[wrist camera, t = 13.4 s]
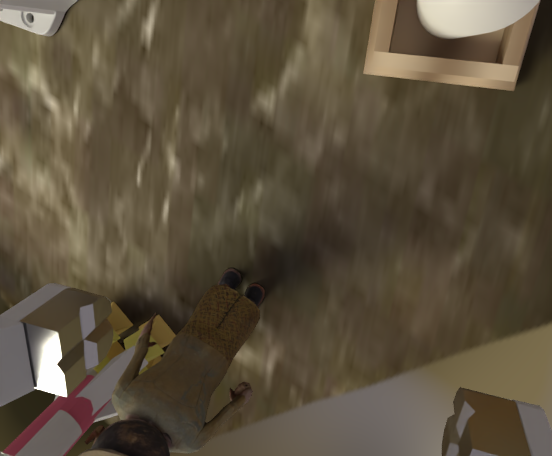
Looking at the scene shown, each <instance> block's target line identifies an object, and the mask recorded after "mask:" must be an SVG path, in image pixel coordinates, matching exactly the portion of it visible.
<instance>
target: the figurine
mask: <svg viewBox="0 0 552 456" xmlns="http://www.w3.org/2000/svg"><path fill="white" fill-rule="evenodd" d="M240 282H241V275H240V273H239V272H238V271H237V270H235V269H231V268H230V269H227V270H226V271H225V272H224V273H223V275H222V277H221V279H220V280H219V282H218V284H217V285H214V286H212V287H211V288H210V289H209V290H207V292H206V293H205V294H204V296H203V297H202V298H201V300H200V301H199V303H198V305H197V307H196V309H195V310H194V312H193V314H192V316H191V317H190V319H189V321H188V322H187V323H186V325H185V326H184V327H183V328H182V329H181V330H180V331H179V333H178V334H177V335H176V337H174V338H173V340H172V341H171V343H170V344H169V346H168V348H167V350H166V351H165V353H164V355H163V357H162V359H161V361H160V362H158V363H157V364H155V365H154V366H152V367H151V368H149V369H148V370H146V371H144V372H143V373H141V374H140V375H139V371H140V368H141V366H142V363H143V360H144V358H145V356H146V354H147V352H148V348H149V347H152V346H154V345H156V344H157V343H156V342H149V341H150V335H151V333H150V332H151V330H152V329H153V328H152V324H153V322H154V321H153V320H154V318H155V317H156V313H155V314H154V315H153V316H152V317H151V319H150V320H149V322H148V323H147V324H146V325H145V326H144V328H143V330H142V331H141V333H140V336H139V338H138V340H137V342H136V345H135V351H134V355H133V357H132V359H131V361H130V363H129V364H128V366H127V368H126V369H125V371H124V372H123V374H122V376H121V377H120V379H119V380H118V382H117V383H116V386H115V389H114V391H113V393H112V403H113V406H114V408H115V410H116V412H117V414H118V415H119V417H120V419H121V421H118V422H116V423H113V424H111V425H110V426H108V427H107V428H104V427H103V425H100V426H98V427H97V428H96V429H95V430H94V431H93V432H92V433H91V435H90V436H89V437H88V438H87V440H86V441H85V443H86V444H88V443H90V442H91V441H92V440H94V439H95V441H94V443H93V445H92V448H91V449H88V450H86V451H84V452H82V453H81V454H80V455H79V456H170V452H178V453H192V452H196V451H199V450H200V449H201V448H202V447H203V446H204V445H205V444H206V443H207V442H208V441H209V440H210V439H211V438H212V437H213V435H214V434H215V433H216V432H217V431H218V429H219V428H220V427H221V426H222V425H223V424H224V423H225V422H226V421H227V420H228V419H229V418H230V417H231V416H232V415H233V414H234V413H235V412H236V411H238V410H239V409H240V408H242V407H243V405H244V404H245V403H247V402H248V401H249V398H250V397H251V396H252V394H251V393H252V392H253V391H252V389H251V386H250V384H249V383H247V382H243V383H241V384H239V385H238V387H237V388H236V389H235V391H233V390H232V389H231V388H230V400H231V402H230V403H229V404H228V405H226V406H225V407H224V408H223V409H222V410H221V411H220V412H219V413H218V414H217V415H216V416H215V417H214V418H213V419H212V420H211V421H209V422H208V423H206V422H205V419H206V415H207V410H208V405H209V402H210V398H211V395H212V393H213V392H214V390H215V389H216V387H217V386H218V385H219V384H220V382H221V381H222V379H223V378H224V376H225V374H226V372H227V370H228V368H229V366H230V364H231V362H232V360H233V358H234V356H235V355H236V354H237V352H238V351H239V349H240V348H241V346H242V345H243V344H244V343H245V341H246V340H247V339H248V337H249V336H250V334H251V333H252V331H253V330H254V328H255V327H256V325H257V323H258V321H259V319H260V310H259V309H258V306H259V304H260V303H261V301H262V300H263V298H264V293H265V291H264V289H263V287H261V286H260V285H258V284H256V283H254V284H252V285H250V286H249V287H247V289H246V292H245V295H240V294H239V293H238V292H237V291H235V290H234V289H235V288H236V287H237V286H238V285H239V284H240Z"/></svg>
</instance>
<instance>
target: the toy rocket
mask: <svg viewBox="0 0 552 456" xmlns="http://www.w3.org/2000/svg"><path fill="white" fill-rule="evenodd" d="M111 309H112V313H111V314H110V315H109V317H108V318H107V319H108V321H109V322H110V324H111V325H112V327H113V335H114V336H113V342H112V346H111V348H110V350H109V352H108V354H107V356H106V357H105V358H104V359H103V361H102V362H101V363H100V364H99V365H97V366H94V367H92V368H89V369H87V374H86V378H85V379H84V380H83V381H82V382H81V383H80V384H79V385H78V386H77V387H76V388H75V389H74V390H73V391H72V392H71V393H70V394H69V396H68V397H65V396H61V395H58V394H56V397H55V400H54V402H53V403H52V404H51V405H50V406H49V407H48V408H46V410H45V411H43V412H42V413H41V415H39V416H38V417H37V418H36V419H35V421H33V422H32V423H31V424H30V425H29V426H28V427H27V428H26V429H25V430H24V431H23V432H22V433H21V434H20V435H19V436H18V437H17V438H16V439H15V440H14V441H13V442H12V443H11V444H10V445H9V446H8V447H7V448H6V449H5V450H4V451H3V453H6V454H9V455H11V456H65V455H66V454H67V453H68V452H69V450H70V449H71V448H72V447H73V446H74V444H75V443H76V442H77V441H78V440H79V438H80V437H81V436H82V435H83V434H84V433H85V432H86V430H87V429H88V428H89V427H90V426H91V424H92V423H93V422H97V421H99V420H103V419H106V418H109V417H113V416H116V415H118V414H117V412H116V410H115V408H114V406H113V403H112V393H113V391H114V389H115V386H116V383H117V382H118V380H119V379H120V377H121V376H122V374H123V372H124V371H125V369H126V368H127V366H128V364H129V363H130V361H131V359H132V357H133V355H134V351H135V345H136V342H137V340H138V338H139V336H140V333H141V331H142V330H143V328H144V326H145V325H146V324H147V323H148V322H149V321H147V322H146V323H144V324H142V325H141V326H139V331H137V332H135V333H134V334H132V335H130V336H129V337H127V338H126V339H124V340H123V341H124V345H125V350H126V351H125V350H124V349H123V347H122V346H121V345H120V344H119V343H118V341H117V340H119V339H120V337H119V336H118V335H119V334H121V333H122V332H124V331H125V330H127V329H129V328H130V327H132V326H133V324H132V323H131V321H130V320H129V319H128V318H127V317H126V315H125V314H124V313H123V312H122V311H121V309H120V308H119V307H118V306H117V305H116V303H115V302H112V303H111ZM153 321H154V322H153V324H152V328H153V329H152V330H151V332H150V333H151V335H150V341H149V342H156V343H157V344H156V345H154V346H152V347H149V348H148V352H147V354H146V356H145V358H144V360H143V363H142V366H141V368H140V371H139V375H140V374H141V373H143V372H144V371H146V370H148V369H149V368H151V367H152V366H154V365H155V364H157V363H158V362H160V361H161V359H162V357H161V356H160V355H162V354H163V353H165V352H164V351H163V350H162V348H163V347H165V346H167V345H169V344H170V343H171V341H172V340H173V338H174V337H176V335H175V334H174V332H173V331H172V330H171V329H170V328H169V326H168V325H167V324H166V323H165V321H164V320H163V319H162V318H161V316H160V315H157V316H156V317H155V318H154V320H153Z"/></svg>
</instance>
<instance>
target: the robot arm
mask: <svg viewBox="0 0 552 456" xmlns="http://www.w3.org/2000/svg"><path fill="white" fill-rule="evenodd" d="M76 1H78V0H0V21H3V22H5V23H8V24H11V25H14V26H17V27H19V28H22V29H25V30H28V31H31V32H33V33H36V34H39V35H44V36H52V35H54V34H55V33H56V31H57V30H58V28H59V26H60V24H61V22H62V20H63V17H64V15H65V12H66V11H67V10H68V8H69V7H70V6H71V5H73V4H74V3H75V2H76ZM32 15H33V16H34V21H33V19H32ZM111 313H112V309H111V301H110V300H109V299H108V298H107V297H104V296H101V295H97V294H94V293H90V292H86V291H83V290H79V289H76V288H71V287H68V286H64V285H60V284H57V283H52V284H47V285H46V286H44V287H43V288H41V289H40V290H38V291H37V292H35V293H33V294H32V295H30V296H29V297H27V298H26V299H24V300H23V301H21V302H20V303H18V304H17V305H15V306H14V307H12V308H10V309H9V310H7V311H6V312H4V313H3V314H1V315H0V406H2V405H5V404H7V403H9V402H11V401H13V400H15V399H17V398H19V397H21V396H23V395H25V394H27V393H29V392H31V391H33V390H34V388H37V389H40V390H44V391H47V392H51V393H54V394H58V395H61V396H65V397H68V396H69V394H70V393H71V392H72V391H73V390H74V389H75V388H76V387H77V386H78V385H79V384H80V383H81V382H82V381H83V380H84V379H85V378H86V374H87V369H89V368H92V367H94V366H97V365H99V364H100V363H101V362H102V361H103V359H104V358H105V357H106V356H107V354H108V352H109V350H110V348H111V346H112V342H113V336H114V335H113V327H112V325H111V324H110V322H109V321H108V319H107V318H108V317H109V315H110V314H111ZM453 403H454V413H455V414H454V415H452V416H450V417H449V418H448V419H447V422H446V426H445V429H444V435H443V441H442V456H552V430H551V427H550V425H549V422H548V419H547V417H546V414H545V411H544V410H543V409H542V408H541V407H540V406H538V405H534V404H529V403H525V402H520V401H516V400H509V399H505V398H501V397H496V396H493V395H488V394H485V393H481V392H477V391H472V390H469V389H465V388H461V387H460V388H459V389H458V391H457V393H456V396H455V399H454V401H453ZM0 456H11V455H9V454H6V453H3V452H0Z"/></svg>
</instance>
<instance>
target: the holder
mask: <svg viewBox="0 0 552 456" xmlns="http://www.w3.org/2000/svg"><path fill="white" fill-rule="evenodd" d="M416 3H417V0H375V5H374V11H373V18H372V24H371V30H370V36H369V42H368V49H367V55H366V61H365V67H364V73H363V74H371V75H380V76H388V77H397V78H406V79H415V80H423V81H432V82H441V83H449V84H458V85H467V86H476V87H484V88H493V89H502V90H511V91H514V88H515V85H516V81H517V78H518V75H519V71H520V68H521V65H522V61H523V58H524V54H525V51H526V48H527V44H528V41H529V37H530V34H531V31H532V27H533V24H534V21H535V17H536V14H537V10H538V7H539V4H540V1H539V2H538V3H537V5H536V6H535V7H534V8H533V9H532V10H531V11H530V12H528V13H527V14H526V15H525V16H523V17H522V18H521V19H519V20H518V21H516V22H515V23H513V24H511V25H509V26H507V27H505V28H502V29H500V30H497V31H493V32H489V33H484V34H479V35H473V36H468V37H462V38H456V39H440V38H437V37H434V36H432V35H431V34H429V33H428V32H427V31H426V30H425V29H424V28H423V27H422V25H421V23H420V21H419V19H418V16H417V9H416Z"/></svg>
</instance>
